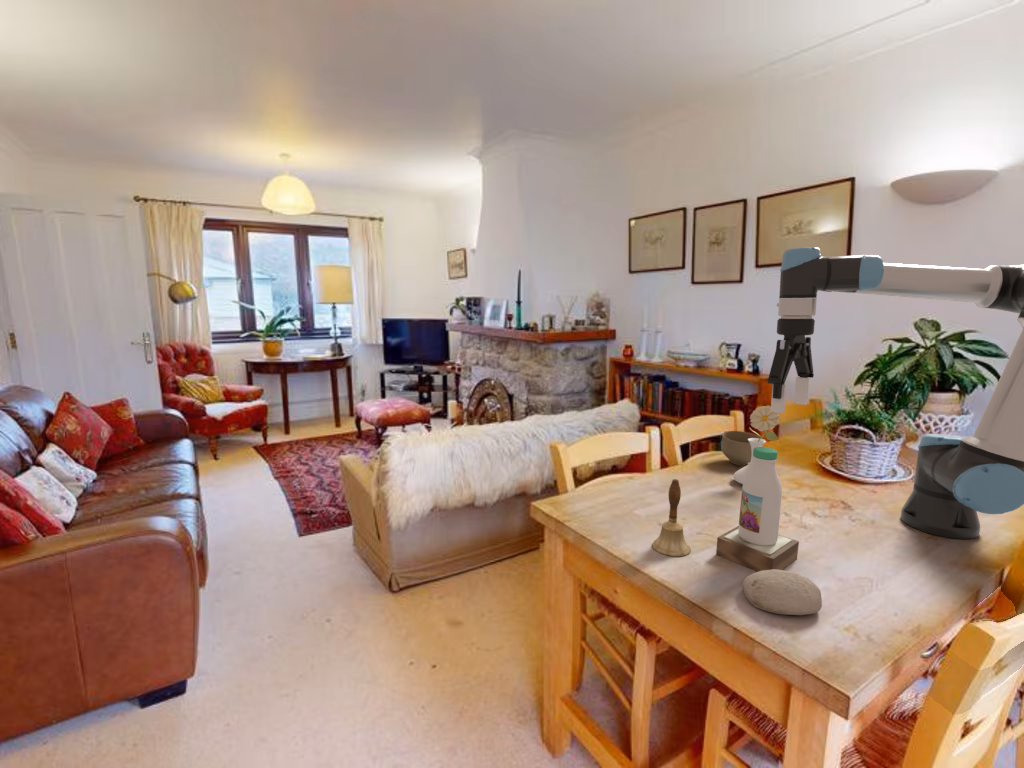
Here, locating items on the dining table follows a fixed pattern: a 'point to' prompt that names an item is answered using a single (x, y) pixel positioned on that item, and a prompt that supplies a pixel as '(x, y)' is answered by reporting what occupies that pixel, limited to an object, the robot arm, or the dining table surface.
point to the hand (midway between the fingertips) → (789, 408)
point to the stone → (782, 592)
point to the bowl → (737, 446)
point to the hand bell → (672, 528)
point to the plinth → (757, 551)
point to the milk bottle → (761, 500)
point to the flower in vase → (762, 422)
